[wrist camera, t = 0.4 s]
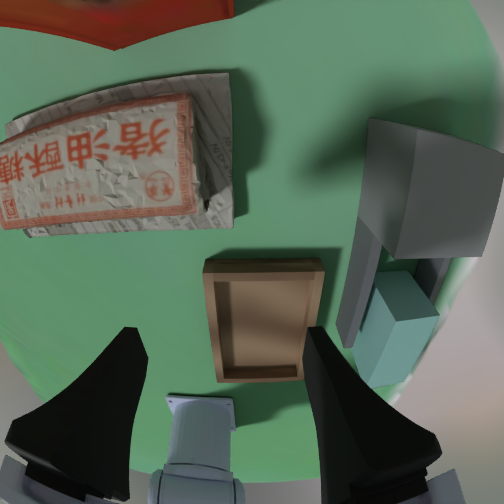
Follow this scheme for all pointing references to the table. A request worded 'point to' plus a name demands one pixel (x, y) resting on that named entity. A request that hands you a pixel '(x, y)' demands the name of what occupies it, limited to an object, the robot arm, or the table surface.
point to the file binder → (111, 18)
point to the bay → (418, 209)
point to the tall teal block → (392, 329)
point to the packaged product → (123, 160)
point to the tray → (261, 316)
